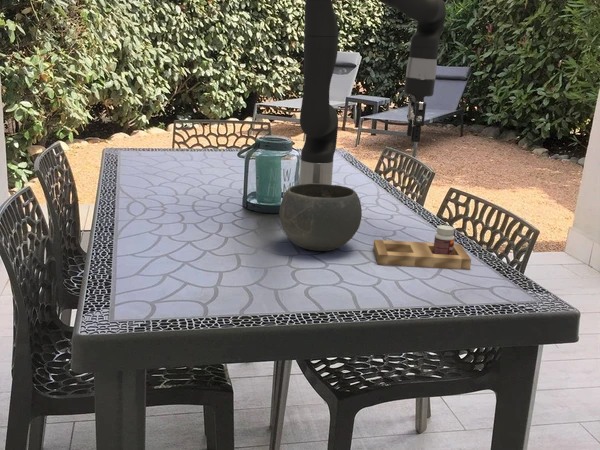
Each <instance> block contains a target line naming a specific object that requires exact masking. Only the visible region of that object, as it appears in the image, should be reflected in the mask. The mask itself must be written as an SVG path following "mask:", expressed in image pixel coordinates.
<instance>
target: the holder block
mask: <svg viewBox="0 0 600 450" xmlns="http://www.w3.org/2000/svg"><path fill="white" fill-rule="evenodd" d="M372 246H373V247H372V249H373V252H374V257H375V260H376V263H377V265H379V266H383V265H384V266H397V267H398V266H399V267H402V266H403V267H416V268H417V267H419V268H437V269H454V270H471V264H472V258H471V257H470V255H469V254H468V253H467V252H466V250H465V249H464V247H463V245H462V244H460V243H454V247H453V255H444V254H433V249H434V242H424V241H405V240H386V239H385V240H384V239H373V245H372Z"/></svg>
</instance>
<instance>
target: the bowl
mask: <svg viewBox="0 0 600 450" xmlns="http://www.w3.org/2000/svg"><path fill="white" fill-rule="evenodd" d="M299 184H300V183H299ZM299 184H295V185H292V186H289V188H288V189H286V191H285V193H283V196H282V198H281V202H280V205H279V211H278V212H279V213H278V214H279V221H280V225H281V227H282V230H283V231H284V233H285V234H286V236H287V237H288V238H289V240H290V241H291V242H292V243H293V244H295V245H296V246H298V247H299V248H302V249H305V250H308V251H315V252H328V251H329V252H330V251H333V250H336V249H339V248H341V247H343V246H344V245H346V244H347V243H348V242H349V241H351V239H353V237H355V235H356V233H357V232H358V229H359V228H360V226H361V221H362V215H363V213H362V212H363V211H362V205H361V200H360V197H359V195H358V194H357V192H356V191H355V190H354V189H353V188H350V187H348V186H343V185H339V184H332V185H330V184H317V183H309V184H300V185H299Z"/></svg>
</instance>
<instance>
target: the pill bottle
mask: <svg viewBox="0 0 600 450" xmlns="http://www.w3.org/2000/svg"><path fill="white" fill-rule="evenodd" d="M454 232H455V228H454V227H453V226H449V225H438V226H437V229H436V233H435V234H434V239H433V240H434V242H433V243H434V249H433V254H444V255H453V247H454V244H455V240H456V239H455V236H454Z"/></svg>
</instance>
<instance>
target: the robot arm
mask: <svg viewBox="0 0 600 450" xmlns="http://www.w3.org/2000/svg"><path fill="white" fill-rule="evenodd" d="M377 2H380V3H381V4H384V5H385V6H388V7H390V8H392V9H394V10H396V11H399V12H400V13H402V14H403V15H405V16H406V17H408V18H410V19H412V20H414V21H416V22H417V27H416V30H415V34H414V35H412V37H411V41H410V44H409V45H410V47H409V54H408V55H409V56H408V60H407V63H406V74H405V80H404V87H403V93H404V94H405V95H407V96H408V95H409V97H408V101H409V102H408V108H407V109H408V110H407V115H406V117H407V118H406V120H407V128H406V136H407V137H410V141H411V142H413V143H419V142H420V140H421V134H422V133H421V131H422V128H423V127H424V126H425V118H426V117H425V116H426V107H427V102H425V97H433V95H434V92H435V91H434V90H435V83H436V75H437V70H438V69H437V65H438V64H437V62H438V53H439V46H440V45H439V43H440V38H441V35H442V32H443V29H444V25H445V21H446V15H447V7H446V3H445V1H444V0H377ZM304 4H305V5H304V6H305V7H304V31H303V91H302V100H301V106H300V115H299V125H300V128H301V131H302V132H303V133H304V134H305V141H304V144H303V147H302V149H301V152H300V153H301V154H300V167H299V168H300V169H299V173H300V174H299V184H298V185H300V184H309V183H317V184H330V185H333V184H332V183H333V167H334V156H335V152H336V150H337V142H338V139H337V138H338V131H339V116H338V115H339V114H338V112H337V110H336V109H335V107H334V106H333V105H331V104H330V88H331V82H332V78H333V74H334V71H335V67H336V63H337V58H338V51H339V50H338V49H339V47H338V46H339V25H338V20H337V17H336V13H335V9H334V6H333V5H334V4H333V0H305V3H304Z"/></svg>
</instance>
